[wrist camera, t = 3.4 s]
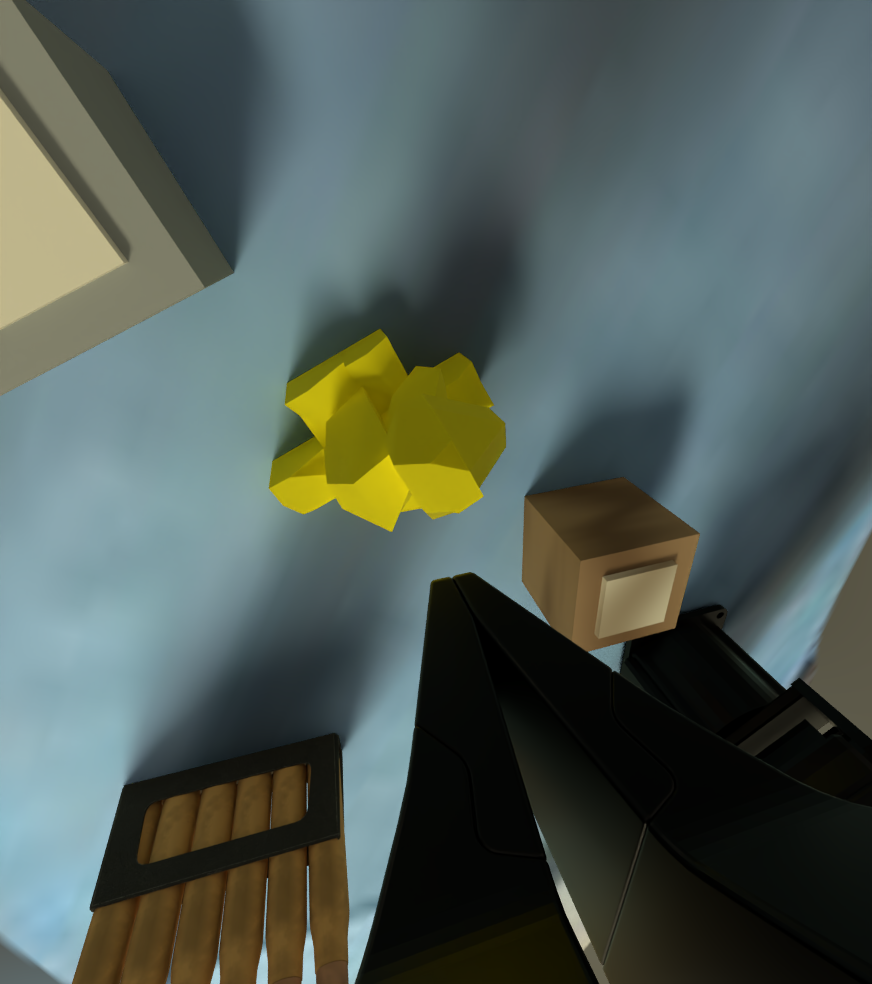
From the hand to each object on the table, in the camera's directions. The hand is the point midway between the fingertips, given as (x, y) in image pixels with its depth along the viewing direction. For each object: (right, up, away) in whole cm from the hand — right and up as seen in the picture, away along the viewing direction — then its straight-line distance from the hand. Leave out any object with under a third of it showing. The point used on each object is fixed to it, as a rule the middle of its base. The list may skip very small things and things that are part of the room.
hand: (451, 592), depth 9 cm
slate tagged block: (-10, +9, +4) cm, 14 cm away
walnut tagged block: (+6, 0, +13) cm, 15 cm away
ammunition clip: (-11, -13, +16) cm, 23 cm away
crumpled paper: (-3, +5, +9) cm, 10 cm away
